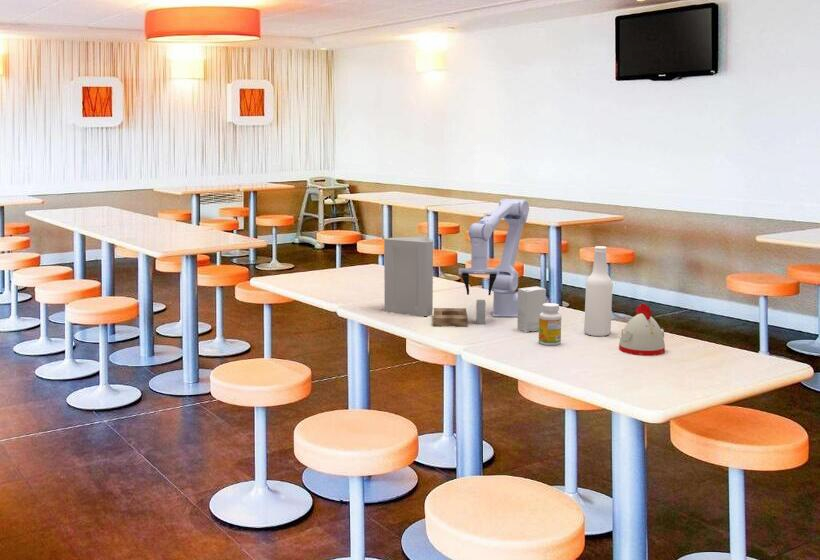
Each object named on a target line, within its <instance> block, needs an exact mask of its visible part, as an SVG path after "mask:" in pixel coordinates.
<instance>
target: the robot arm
mask: <svg viewBox="0 0 820 560" xmlns="http://www.w3.org/2000/svg"><path fill="white" fill-rule="evenodd" d="M529 211H530V206H529V202H528V201H527V199H525V198H523V199H519V198H506V197H504V198H502V199H501V200H500V201H499V203H498V207H497V208H496V209H495V210H494V212H487V213H486V214H485V216H484V217H483V218H481V219H480V220H479V221H478V222H473V223H472V224H471V225H470V226H469V228H468V237H469V243H470V244H471V263H470V264H471V266H470V267H467V268H464V267H463V268H462V267H460V268H458V275H461V278H462V281H463V283H464V287H465V289H466V295H470V284H469V283H470V282H469V281H470V275H486V276H488V277H489V280H488V296H491V295H492V293H491V292H493V306H492V307H493V308H492V309H493V310H492V311H491V314H492V317H495V318H496V317H503V318H505V317H507V318H509V317H513V318H516V317H517V318H518V291H516V290H518V287H519V273H518V271H517V270H516V269H515V262H516V259H517V254H518V251H519V245H520V241H521V237H522V232H523V229H524V224H526V223H527V219H528V216H529ZM502 219H503V220H504V222H506V223H507V224H508V228H507V232H506V237H505V242H504V245H503V250H502V253H501V254H502V255H501V259H500V263H499V265H497V266H495V267H494V268H488V251H489V248H488V247H489V246H488V245H489V241H488V240H490V238H491V236H492V234H493V232H494V230H495V229H497V227H499V225H500V221H501V220H502Z"/></svg>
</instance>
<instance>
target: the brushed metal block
mask: <svg viewBox="0 0 820 560" xmlns="http://www.w3.org/2000/svg"><path fill="white" fill-rule="evenodd" d="M475 305H476V309H475V311H476V313H475V314H476V316H475V319H476V320H475V321H476V322H475V323H476V325H486V299H476V304H475Z"/></svg>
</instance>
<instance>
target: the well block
mask: <svg viewBox="0 0 820 560" xmlns="http://www.w3.org/2000/svg"><path fill="white" fill-rule="evenodd" d="M468 324H469V323H468V312H467V308H466V307H465V308H463V307H460V308H459V307H456V308H455V307H451V308H449V307H433V327H441V326H455V327H454V328H456V327H459V328H461V327H463V328H465V327H466V328H468Z"/></svg>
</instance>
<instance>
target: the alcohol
mask: <svg viewBox="0 0 820 560" xmlns="http://www.w3.org/2000/svg"><path fill="white" fill-rule="evenodd" d="M607 249H608V248H607V247H606V246H605V245H604V246H603V245H598V246H597V245H596V246H594V254H593V255H594V257H593V263H592V264H593V265H592V270H591V271H592V272H591V274H590V275H589V276H588V278H587V279H586V283H585V300H584V301H585V302H584V325H583V327H584V328H583V332H584V333H585V335H587V334H588V336H590V335H591V336H590V337H608V336H609V335H610V334H611V331H612V330H611V329H612V327H611V326H612V309H613V307H612V306H613V305H612V304H613V280H612V279H611V277H610V275H609V274H608V270H607V266H608V265H607V263H608V262H607V252H608V251H607ZM607 335H608V336H607Z"/></svg>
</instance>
